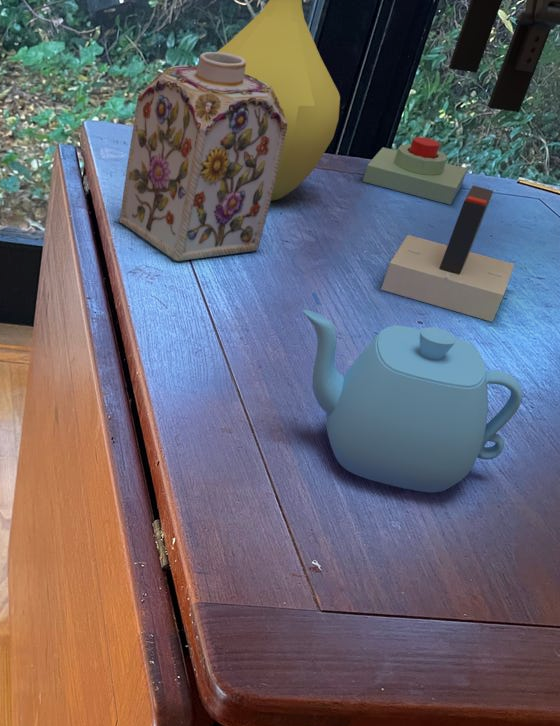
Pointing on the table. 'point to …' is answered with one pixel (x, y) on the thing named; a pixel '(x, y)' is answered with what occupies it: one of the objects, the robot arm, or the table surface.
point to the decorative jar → (203, 159)
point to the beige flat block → (447, 279)
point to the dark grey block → (466, 229)
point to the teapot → (410, 406)
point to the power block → (415, 174)
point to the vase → (291, 86)
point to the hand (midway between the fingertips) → (481, 89)
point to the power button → (424, 147)
